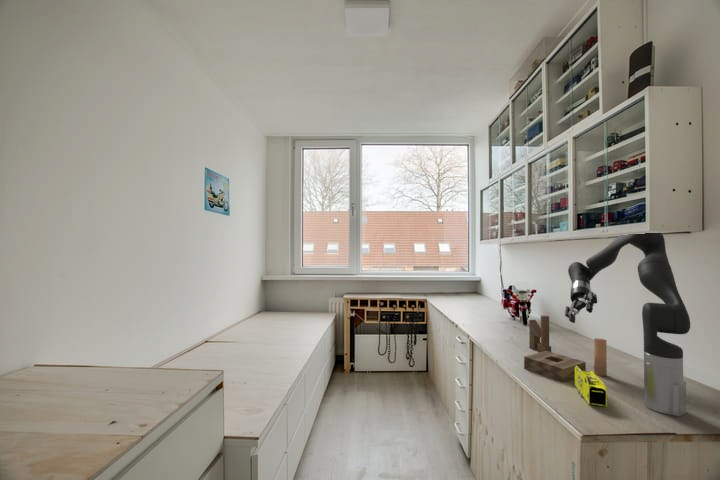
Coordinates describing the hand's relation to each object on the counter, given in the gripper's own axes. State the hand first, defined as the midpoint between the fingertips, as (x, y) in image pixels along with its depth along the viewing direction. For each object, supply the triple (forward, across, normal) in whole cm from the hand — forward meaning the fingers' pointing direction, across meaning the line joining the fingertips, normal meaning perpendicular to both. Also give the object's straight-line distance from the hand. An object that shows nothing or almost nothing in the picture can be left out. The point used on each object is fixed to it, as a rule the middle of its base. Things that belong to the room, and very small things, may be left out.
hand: (580, 316), depth 135 cm
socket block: (+16, +19, -5) cm, 25 cm away
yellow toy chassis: (+33, +4, -7) cm, 34 cm away
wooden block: (-8, +34, -9) cm, 36 cm away
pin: (+10, +11, -19) cm, 24 cm away
